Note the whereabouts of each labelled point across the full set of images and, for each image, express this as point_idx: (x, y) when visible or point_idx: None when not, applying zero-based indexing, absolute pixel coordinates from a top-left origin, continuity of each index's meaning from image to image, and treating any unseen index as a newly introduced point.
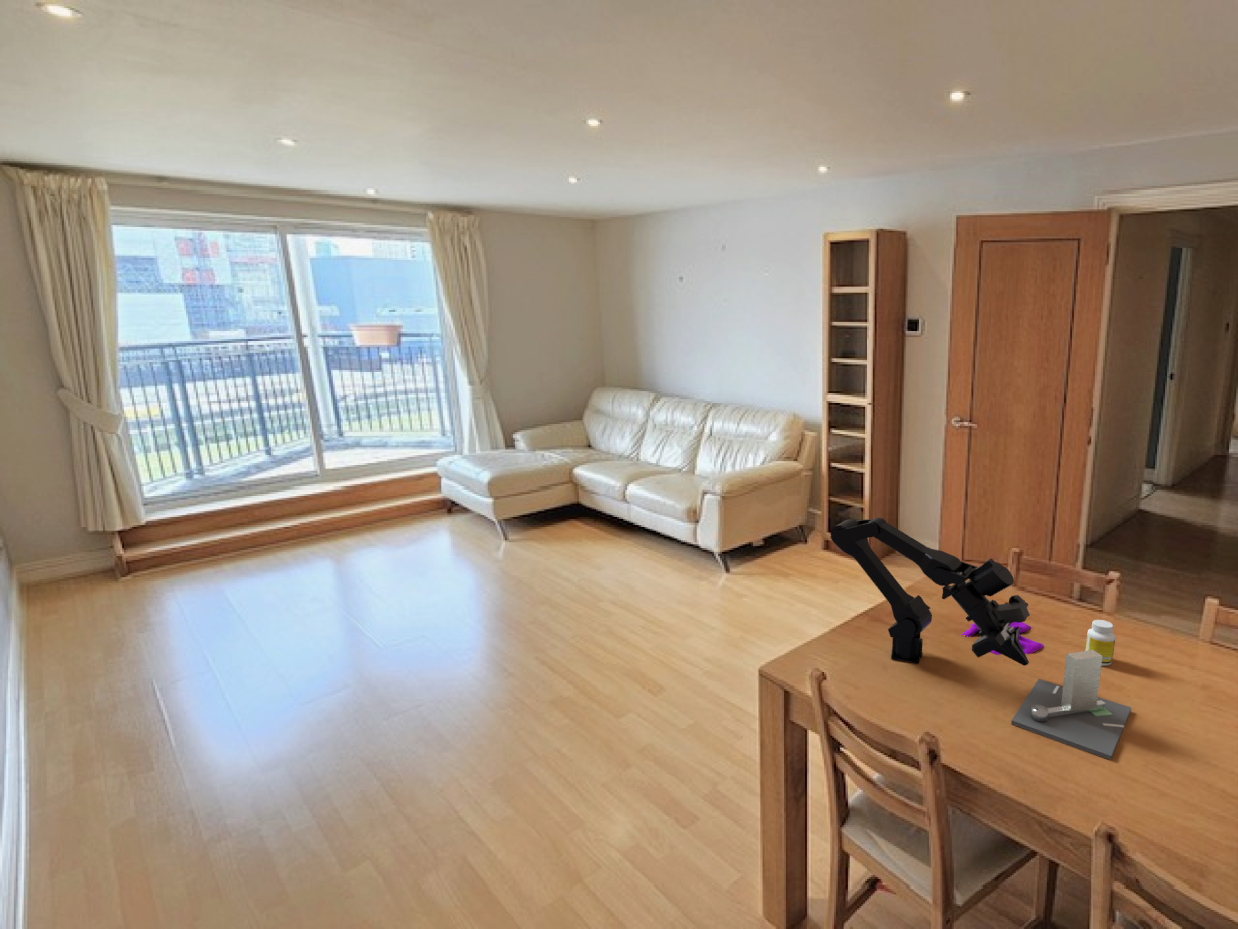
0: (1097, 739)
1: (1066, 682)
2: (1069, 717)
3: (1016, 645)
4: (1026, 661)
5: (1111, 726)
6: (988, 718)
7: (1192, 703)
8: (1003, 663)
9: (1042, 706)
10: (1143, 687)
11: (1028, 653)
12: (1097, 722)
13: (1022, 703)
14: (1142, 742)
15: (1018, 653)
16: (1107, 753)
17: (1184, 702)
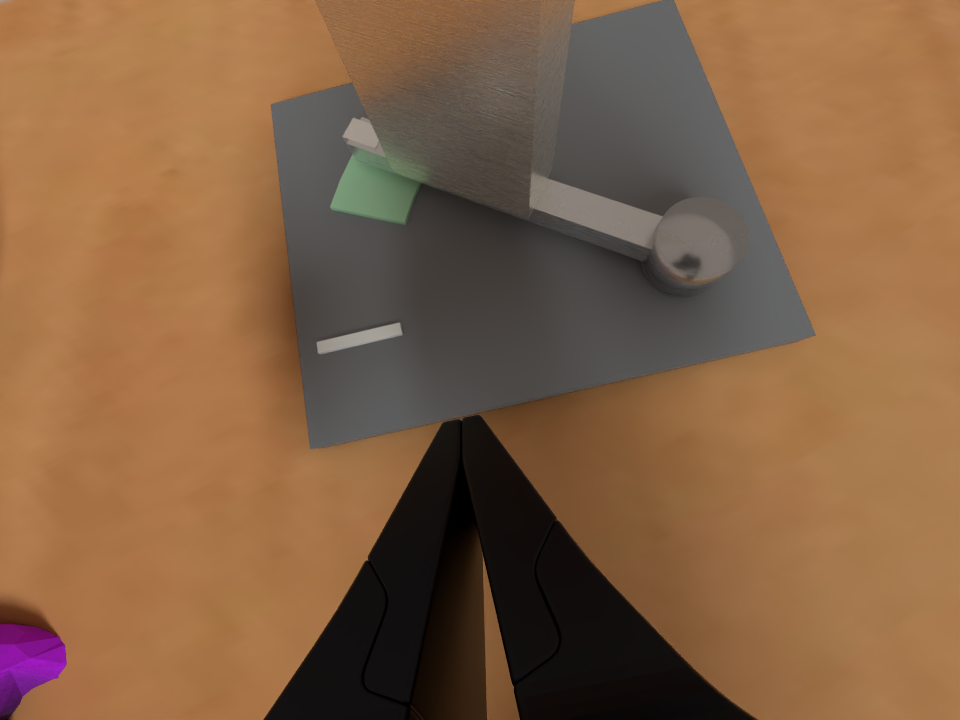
0: (610, 65)
1: (545, 64)
2: None
3: (499, 619)
4: (482, 427)
5: None
6: (857, 439)
7: (85, 44)
8: (254, 687)
9: (664, 240)
10: (70, 169)
11: (53, 638)
12: None
13: (617, 379)
14: None
15: (547, 512)
16: (670, 8)
17: (94, 58)
